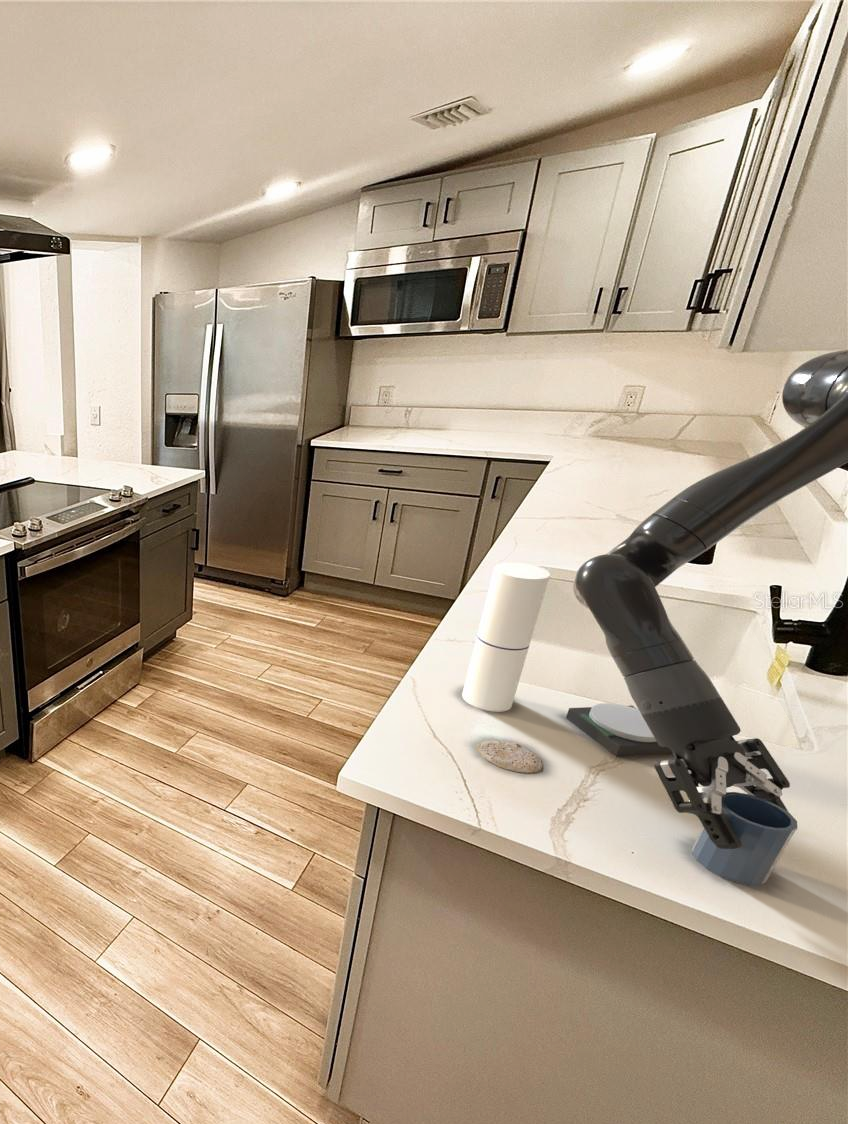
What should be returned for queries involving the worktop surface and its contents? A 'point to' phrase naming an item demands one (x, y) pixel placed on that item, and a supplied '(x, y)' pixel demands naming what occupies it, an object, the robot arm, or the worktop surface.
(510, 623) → the cylindrical container
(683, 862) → the worktop surface
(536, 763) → the flatbread
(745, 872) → the tumbler
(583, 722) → the scale
